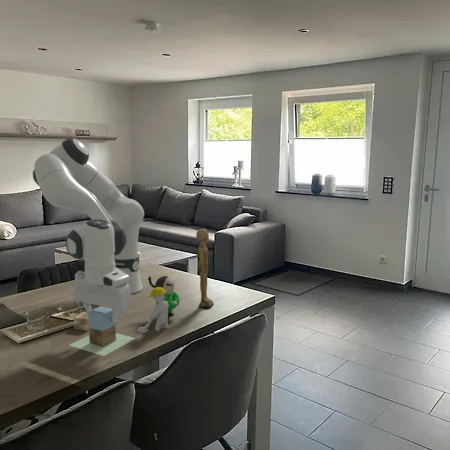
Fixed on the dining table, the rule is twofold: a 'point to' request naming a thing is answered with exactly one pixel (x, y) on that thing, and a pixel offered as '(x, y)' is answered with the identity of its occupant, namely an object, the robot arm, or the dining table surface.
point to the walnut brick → (102, 336)
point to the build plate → (99, 350)
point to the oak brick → (81, 321)
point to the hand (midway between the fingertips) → (102, 318)
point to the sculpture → (203, 267)
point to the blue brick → (100, 318)
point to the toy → (167, 292)
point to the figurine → (158, 310)
